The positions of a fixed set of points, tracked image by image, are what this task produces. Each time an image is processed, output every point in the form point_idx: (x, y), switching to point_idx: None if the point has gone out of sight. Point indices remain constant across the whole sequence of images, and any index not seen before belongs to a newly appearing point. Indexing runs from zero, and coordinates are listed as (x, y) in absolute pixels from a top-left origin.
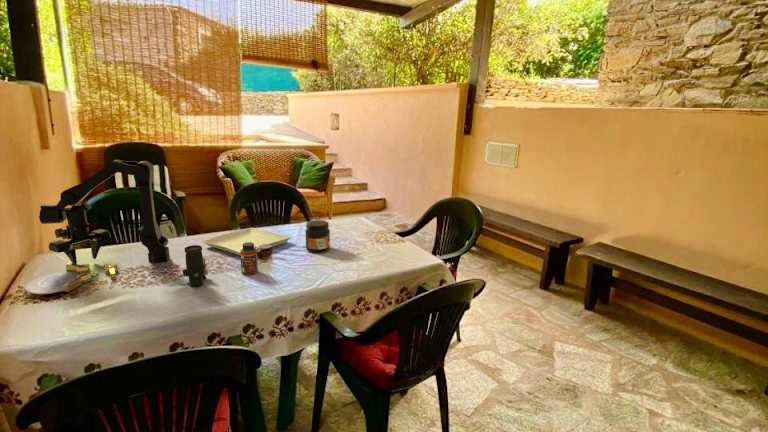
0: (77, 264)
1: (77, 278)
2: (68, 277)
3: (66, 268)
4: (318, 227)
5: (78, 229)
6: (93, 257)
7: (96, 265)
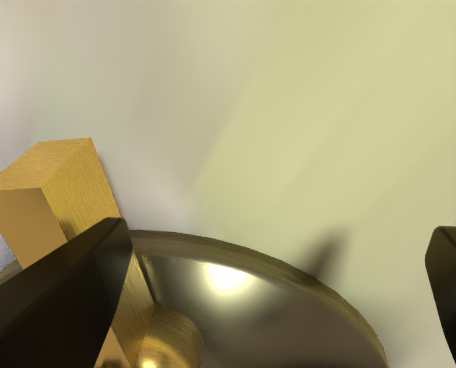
0: (110, 331)
1: None
2: None
3: (29, 157)
4: None
5: None
6: (442, 257)
7: (411, 170)
